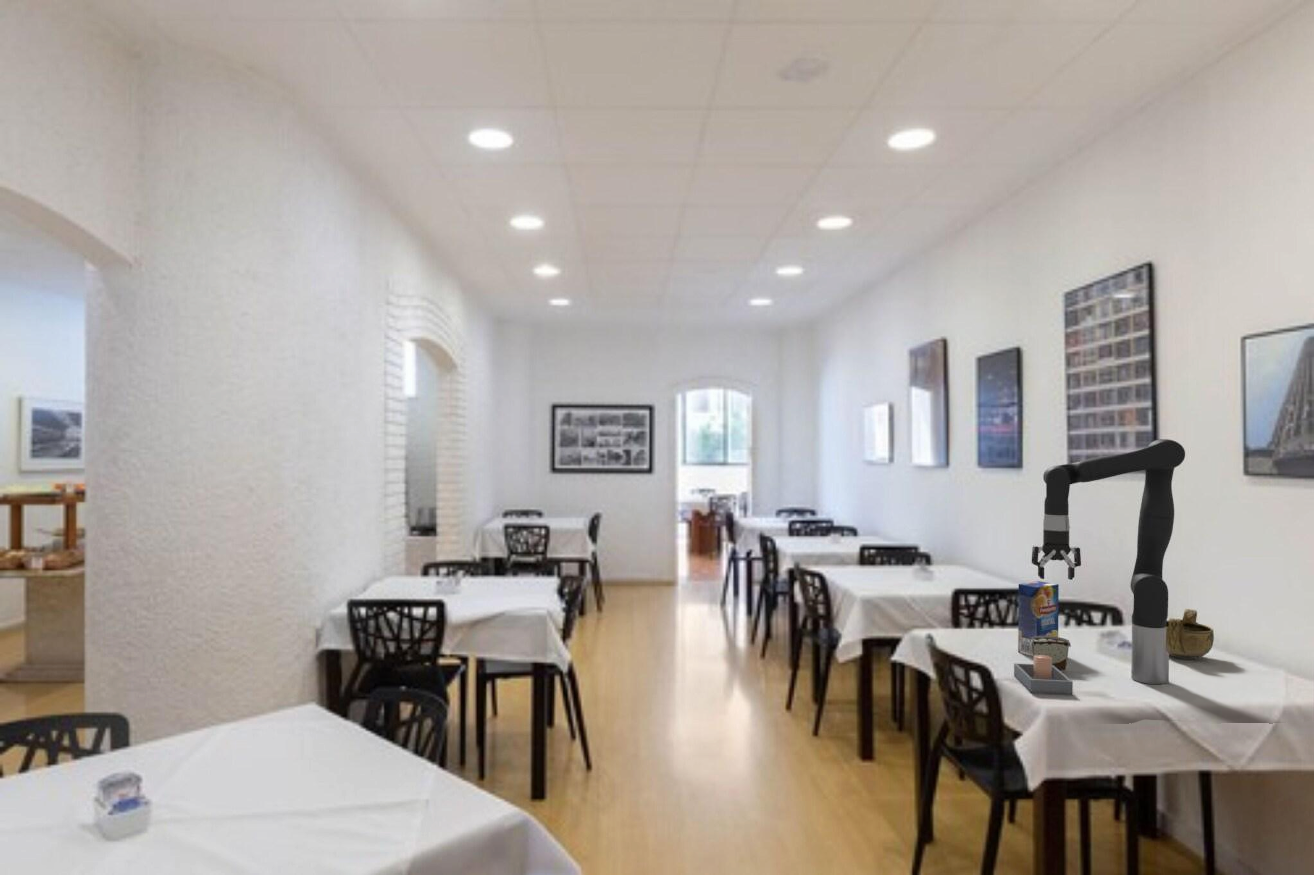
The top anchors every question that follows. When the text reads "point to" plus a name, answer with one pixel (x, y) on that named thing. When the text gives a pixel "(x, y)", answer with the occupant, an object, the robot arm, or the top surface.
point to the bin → (1043, 681)
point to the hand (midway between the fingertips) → (1056, 578)
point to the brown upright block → (1042, 667)
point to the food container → (1052, 649)
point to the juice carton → (1036, 613)
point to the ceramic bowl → (1188, 637)
